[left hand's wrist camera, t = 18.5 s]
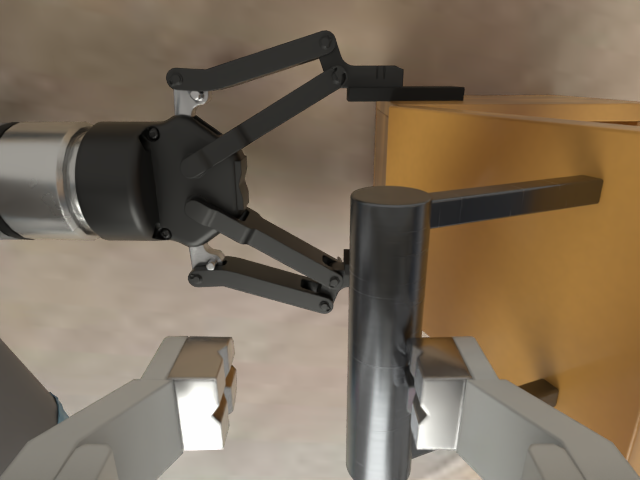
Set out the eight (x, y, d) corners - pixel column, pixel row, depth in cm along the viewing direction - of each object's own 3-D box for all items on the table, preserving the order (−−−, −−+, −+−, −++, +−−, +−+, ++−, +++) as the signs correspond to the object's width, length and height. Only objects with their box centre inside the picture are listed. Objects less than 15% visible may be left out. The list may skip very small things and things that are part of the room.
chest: (553, 94, 33) (659, 103, 22) (532, 227, 36) (615, 289, 25) (376, 95, 33) (397, 104, 22) (371, 227, 36) (388, 288, 26)
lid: (755, 136, 10) (435, 166, 7) (646, 481, 13) (399, 603, 10) (410, 104, 22) (236, 110, 19) (399, 291, 25) (251, 322, 22)
